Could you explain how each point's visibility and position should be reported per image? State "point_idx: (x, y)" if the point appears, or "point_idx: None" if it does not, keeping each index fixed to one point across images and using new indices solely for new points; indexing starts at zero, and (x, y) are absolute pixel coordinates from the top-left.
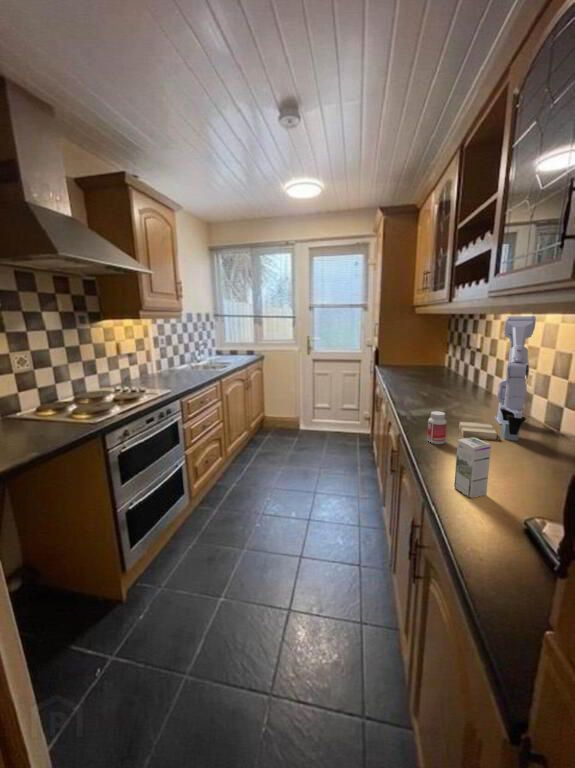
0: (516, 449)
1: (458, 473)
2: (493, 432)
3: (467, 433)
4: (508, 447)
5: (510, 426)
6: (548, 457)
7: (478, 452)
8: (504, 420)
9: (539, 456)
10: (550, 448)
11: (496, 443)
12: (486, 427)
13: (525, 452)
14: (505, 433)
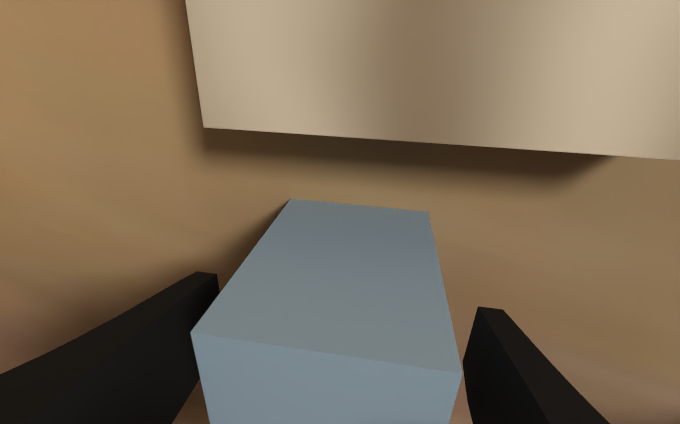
0: (66, 216)
1: None
2: (225, 82)
3: None
4: (77, 167)
5: (71, 348)
6: (38, 344)
7: None
8: (449, 397)
9: (22, 308)
10: (202, 413)
11: (129, 80)
12: (495, 17)
13: (41, 256)
14: (264, 239)
